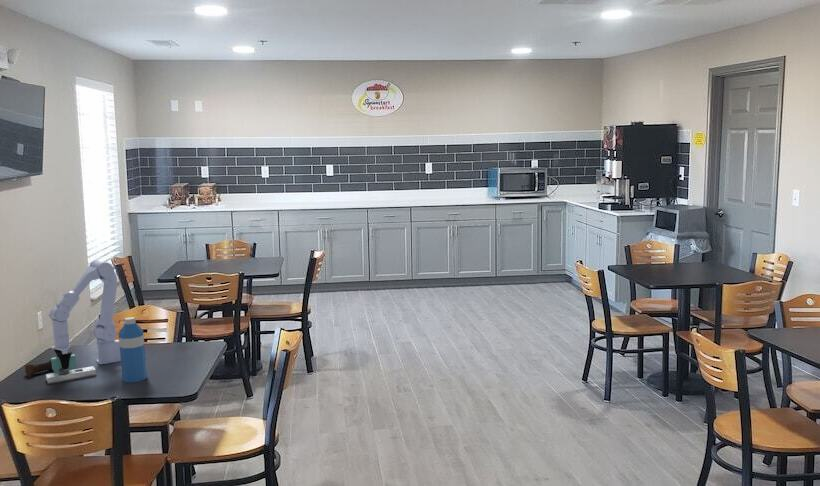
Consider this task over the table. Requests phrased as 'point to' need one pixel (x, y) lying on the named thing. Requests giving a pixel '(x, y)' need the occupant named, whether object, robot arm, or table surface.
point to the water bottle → (132, 351)
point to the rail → (70, 375)
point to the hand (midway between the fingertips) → (64, 366)
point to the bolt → (37, 368)
